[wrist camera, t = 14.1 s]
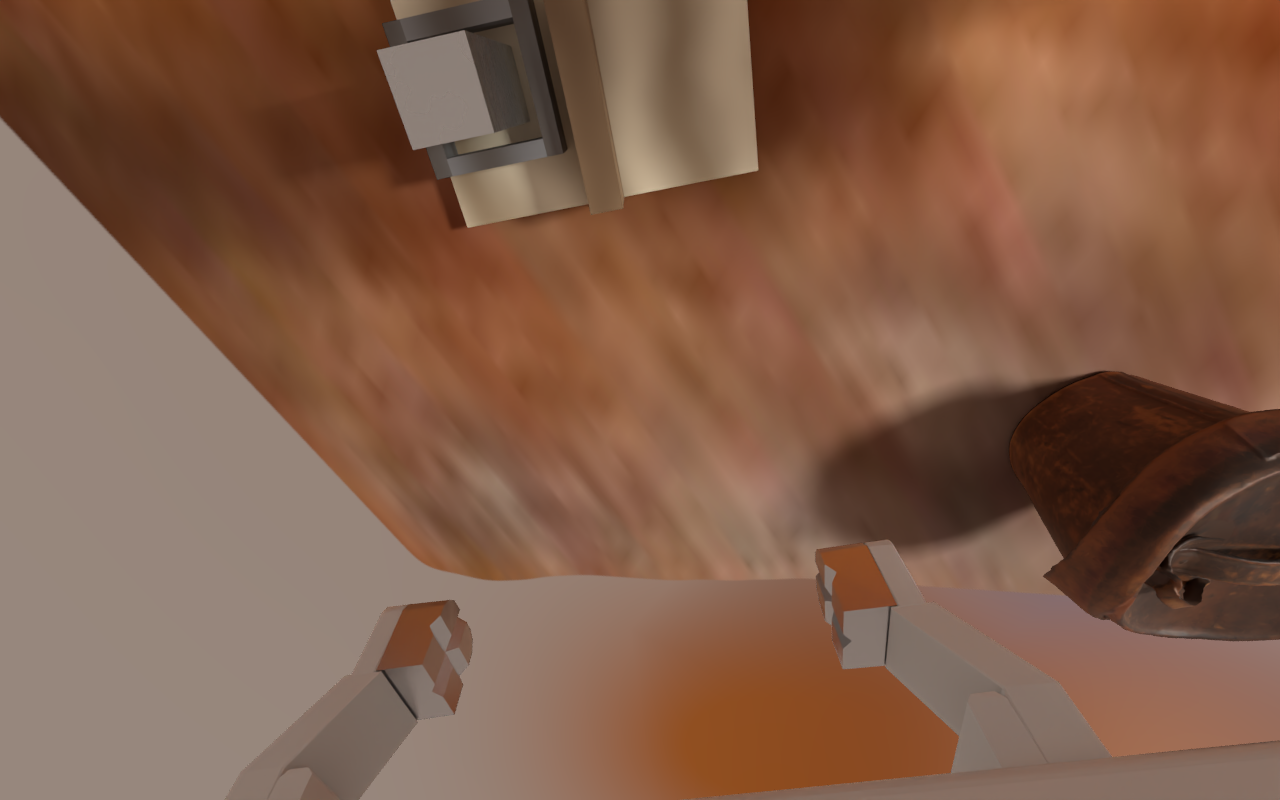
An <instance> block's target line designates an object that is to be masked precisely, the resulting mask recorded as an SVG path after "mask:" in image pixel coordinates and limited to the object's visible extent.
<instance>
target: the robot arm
mask: <svg viewBox="0 0 1280 800" xmlns="http://www.w3.org/2000/svg"><path fill="white" fill-rule="evenodd" d="M815 562H816V565H817V567H818V570H819V573H818V574H817V575H816V588H817V593H818V599H819V603H820V606H821V610H822V613H823V616H824V619H825V621H826V622H827V623H829V624H830V625H831V626H832V641H833V644H834V646H835V649H836V652H837V655H838V657H839V660H840V662H841V665H842V668H843V669H851V668H862V667H874V666H885V665H886V669H888V670H889V671H890V672H891V673H892V674H893V675H894V676H895V677H896V678H897V679H898V680H899V681H901V682H902V683H903V684H904V685H905V686H906V687H907V688H908V689H909V690H910V691H911V692H912V693H913V694H914V695H915V696H917V697H918V698H919V699H920V700H921V701H922V702H923V703H924V704H925V705H926V706H927V707H928V708H930V709H931V710H932V711H933V712H934V713H935V714H936V715H937V716H938V717H939V718H940V719H941V720H942V721H943V722H945V723H946V724H947V725H948V726H949V727H950V728H951V729H952V730H953V731H954V732H955V733H956V734H958V736H959V741H958V745H957V749H956V753H955V758H954V762H953V766H952V770H951V773H948V774H938V775H928V776H918V777H908V778H898V779H888V780H879V781H868V782H858V783H849V784H838V785H828V786H817V787H808V788H798V789H787V790H777V791H767V792H757V793H746V794H737V795H727V796H716V797H706V798H696V799H685V800H1280V741H1270V742H1260V743H1250V744H1240V745H1230V746H1220V747H1210V748H1199V749H1189V750H1179V751H1169V752H1159V753H1149V754H1139V755H1129V756H1120V757H1112V756H1111V755H1110V753H1109V752H1108V750H1107V749H1106V748H1105V746H1104V745H1103V744H1102V742H1101V741H1100V739H1099V738H1098V737H1097V735H1096V734H1095V732H1094V731H1093V729H1092V728H1091V727H1090V725H1089V724H1088V723H1087V721H1086V720H1085V719H1084V717H1083V715H1082V714H1081V713H1080V711H1079V710H1078V708H1077V707H1076V706H1075V704H1074V703H1073V701H1072V700H1071V699H1070V698H1069V696H1068V694H1067V693H1066V692H1065V690H1064V689H1063V688H1062V686H1061V685H1060V683H1059V682H1057V681H1056V680H1054V679H1053V678H1051V677H1050V676H1048V675H1047V674H1045V673H1043V672H1042V671H1040V670H1039V669H1037V668H1036V667H1034V666H1033V665H1031V664H1030V663H1028V662H1026V661H1025V660H1023V659H1022V658H1020V657H1019V656H1017V655H1016V654H1014V653H1013V652H1011V651H1009V650H1008V649H1006V648H1005V647H1003V646H1002V645H1000V644H999V643H997V642H996V641H994V640H992V639H991V638H989V637H988V636H986V635H984V634H983V633H982V632H980V631H979V630H977V629H975V628H974V627H972V626H971V625H969V624H968V623H966V622H965V621H963V620H961V619H960V618H958V617H957V616H955V615H954V614H952V613H951V612H949V611H948V610H946V609H944V608H943V607H941V606H940V605H938V604H937V603H935V602H928V603H927V602H926V600H925V599H924V597H923V595H922V593H921V592H920V590H919V588H918V587H917V585H916V583H915V581H914V580H913V578H912V576H911V574H910V573H909V571H908V569H907V567H906V566H905V564H904V562H903V561H902V559H901V557H900V555H899V554H898V552H897V550H896V548H895V547H894V545H893V543H892V542H891V541H889V540H880V541H873V542H866V543H857V544H850V545H843V546H837V547H830V548H823V549H817V550H816V553H815ZM459 611H460V609H459V607H458V606H457V604H456V603H455V601H454V600H446V601H436V602H427V603H419V604H409V605H403V606H393V607H387V608H386V609H385V610H384V611H383V612H382V613H381V615H380V617H379V619H378V621H377V623H376V625H375V627H374V630H373V632H372V634H371V636H370V638H369V640H368V642H367V644H366V646H365V648H364V650H363V652H362V654H361V656H360V658H359V660H358V662H357V664H356V667H355V669H354V671H353V673H352V675H347V676H344V677H343V678H342V679H341V680H340V681H339V682H338V683H337V684H336V685H335V686H334V687H332V688H331V689H330V690H329V691H328V692H327V693H326V694H325V695H324V696H323V697H322V698H321V699H320V700H318V701H317V702H316V703H315V704H314V705H313V706H312V707H311V708H310V709H309V710H308V711H306V712H305V713H304V714H303V715H302V716H301V717H300V718H299V719H298V720H297V721H296V722H295V723H294V724H292V725H291V726H290V727H289V728H288V729H287V730H286V731H285V732H284V733H283V734H282V735H280V736H279V737H278V738H277V739H276V740H275V741H274V742H273V743H272V744H271V745H270V746H269V747H268V748H266V749H265V750H264V751H263V752H262V753H261V754H260V755H259V756H258V757H257V758H256V759H254V760H253V761H252V762H251V763H250V764H249V765H248V766H247V767H246V768H245V769H244V770H243V771H241V773H240V774H239V776H238V777H237V779H236V781H235V783H234V784H233V786H232V788H231V790H230V791H229V793H228V795H227V796H226V798H225V800H359V799H360V797H361V796H362V795H363V793H364V792H365V791H366V790H367V788H368V787H369V786H370V784H371V783H372V782H373V780H374V779H375V778H376V776H377V775H378V774H379V772H380V771H381V770H382V768H383V767H384V766H385V764H386V763H387V762H388V761H389V759H390V758H391V757H392V755H393V754H394V753H395V751H396V750H397V749H398V748H399V746H400V745H401V744H402V742H403V741H404V740H405V738H406V737H407V736H408V734H409V733H410V732H411V730H412V729H413V728H414V727H415V725H416V724H417V720H421V719H428V718H434V717H441V716H448V715H454V714H455V711H456V708H457V704H458V701H459V697H460V694H461V690H462V687H463V683H462V681H461V678H460V674H461V673H462V672H463V671H464V670H465V669H466V668H467V666H468V665H469V662H470V659H471V655H472V642H473V639H472V634H471V630H470V628H469V626H468V624H467V622H465V621H464V620H462V619H460V618H458V614H459Z"/></svg>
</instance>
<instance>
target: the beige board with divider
mask: <svg viewBox="0 0 1280 800" xmlns="http://www.w3.org/2000/svg"><path fill="white" fill-rule="evenodd" d="M390 1H391V4H392V7H393V10H394V13H395V16H396V19H397V20H395V21H390V22H386V23H382V25H383V28H384V31H385V34H386V36H387V39H388V42H389V45H390V47H393V46H398V45H402V44H406V43H411V42H415V41H419V40H424V39H428V38H433V37H437V36H441V35H446V34H450V33H454V32H459V31H463V30H466V31H469V32H471V33H474V34H477V35H480V36H483V37H486V38H489V39H492V40H495V41H498V42H500V43H503V44H506V45H509V46H511V47H512V51H513V55H514V59H515V63H516V67H517V71H518V75H519V79H520V82H521V86H522V90H523V94H524V98H525V102H526V106H527V110H528V114H529V118H530V122H527V123H524V124H521V125H518V126H515V127H511V128H508V129H505V130H502V131H499V132H496V133H492V134H487V135H482V136H477V137H473V138H468V139H463V140H458V141H454V142H449V143H444V144H440V145H435V146H430V147H426V150H427V152H428V155H429V158H430V161H431V164H432V167H433V169H434V172H435V175H436V178H437V180H438V179H443V178H448V177H451V180H452V183H453V186H454V189H455V192H456V195H457V198H458V201H459V204H460V207H461V210H462V213H463V216H464V219H465V221H466V224H467V227H468V228H469V227H474V226H479V225H485V224H490V223H495V222H500V221H505V220H510V219H515V218H520V217H525V216H530V215H535V214H540V213H545V212H550V211H556V210H561V209H566V208H571V207H576V206H581V205H586V204H589V208H590V213H591V215H593V214H598V213H603V212H608V211H613V210H618V209H623V205H624V197H627V196H632V195H637V194H642V193H647V192H652V191H657V190H662V189H667V188H672V187H677V186H682V185H687V184H692V183H697V182H703V181H708V180H713V179H718V178H723V177H728V176H733V175H738V174H743V173H748V172H753V171H758V157H757V141H756V126H755V111H754V96H753V81H752V65H751V50H750V35H749V20H748V4H747V0H390Z"/></svg>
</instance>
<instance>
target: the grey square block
mask: <svg viewBox="0 0 1280 800" xmlns="http://www.w3.org/2000/svg"><path fill="white" fill-rule="evenodd" d="M377 53H378V56H379V59H380V61H381V64H382V67H383V70H384V72H385V75H386V78H387V81H388V83H389V86H390V89H391V91H392V94H393V97H394V100H395V102H396V105H397V108H398V111H399V113H400V116H401V119H402V122H403V124H404V127H405V130H406V133H407V135H408V138H409V141H410V144H411V146H412V149H413V150H416V149H421V148H425V147H430V146H435V145H440V144H444V143H449V142H454V141H458V140H463V139H468V138H473V137H477V136H482V135H487V134H492V133H496V132H499V131H502V130H505V129H508V128H511V127H515V126H518V125H521V124H524V123H527V122H530V118H529V114H528V110H527V106H526V102H525V98H524V94H523V90H522V86H521V82H520V79H519V75H518V71H517V67H516V63H515V59H514V55H513V51H512V47H511V46H509V45H506V44H503V43H500V42H498V41H495V40H492V39H489V38H486V37H483V36H480V35H477V34H474V33H471V32H469V31H466V30H463V31H459V32H454V33H450V34H446V35H441V36H437V37H433V38H428V39H424V40H419V41H415V42H411V43H406V44H402V45H398V46H393V47H389V48H385V49H380V50H377Z"/></svg>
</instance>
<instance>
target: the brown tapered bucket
mask: <svg viewBox="0 0 1280 800" xmlns="http://www.w3.org/2000/svg"><path fill="white" fill-rule="evenodd" d="M1009 455H1010V462H1011V465H1012V468H1013V470H1014V473H1015V475H1016V476H1017V478H1018V479H1019V481H1020V482H1021V483H1022V485H1023V486H1024V488H1025V490H1026V492H1027V493H1028V495H1029V497H1030V499H1031V501H1032V503H1033V504H1034V506H1035V508H1036V510H1037V512H1038V514H1039V516H1040V517H1041V519H1042V521H1043V523H1044V525H1045V526H1046V528H1047V530H1048V531H1049V533H1050V535H1051V537H1052V539H1053V540H1054V542H1055V544H1056V546H1057V547H1058V549H1059V551H1060V552H1061V554H1062V556H1063V558H1064V559H1063V560H1061V561H1060V562H1059V563H1058V564H1057V565H1054V566H1052V568H1051V570H1050V571H1049V572H1047V573H1046V574H1044V576H1043V577H1044V578H1046V579H1047V580H1048V581H1050V582H1051V583H1052V584H1054V585H1055V586H1056V587H1057V588H1058V589H1060V590H1061V591H1062V592H1063V593H1064V594H1065V595H1067V596H1068V597H1069V598H1070V599H1071V600H1072V601H1074V602H1075V603H1076V604H1077V605H1078V606H1079V607H1080V608H1081V609H1083V610H1084V611H1085V612H1087V613H1088V614H1090V615H1091V616H1093V617H1095V618H1099V619H1101V620H1110V619H1111V621H1113V622H1115V623H1116V624H1118V625H1119V626H1121V627H1122V628H1123V629H1125V630H1128V631H1131V632H1135V633H1139V634H1146V635H1153V636H1160V637H1168V638H1187V639H1208V640H1223V641H1258V640H1278V639H1280V409H1273V410H1264V411H1256V412H1248V411H1245V410H1242V409H1239V408H1236V407H1233V406H1229V405H1226V404H1223V403H1219V402H1216V401H1213V400H1210V399H1207V398H1204V397H1201V396H1197V395H1194V394H1191V393H1188V392H1184V391H1181V390H1178V389H1175V388H1172V387H1169V386H1165V385H1162V384H1159V383H1156V382H1153V381H1150V380H1147V379H1144V378H1141V377H1137V376H1133V375H1128V374H1125V373H1123V372H1105V373H1100V374H1097V375H1095V376H1092V377H1088V378H1086V379H1083V380H1080V381H1077V382H1075V383H1072V384H1070V385H1068V386H1066V387H1064V388H1062V389H1061V390H1059V391H1057V392H1056V393H1054V394H1052V395H1051V396H1049V397H1048V398H1047V399H1045V400H1044V401H1042V402H1041V403H1040V404H1038V405H1037V406H1036V407H1035V408H1033V409H1032V410H1031V411H1030V412H1029V413H1028V414H1027V415H1026V416H1025V417H1024V418H1023V420H1022V421H1021V422H1020V424H1019V425H1018V426H1017V428H1016V430H1015V432H1014V434H1013V436H1012V438H1011V441H1010V446H1009Z"/></svg>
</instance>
